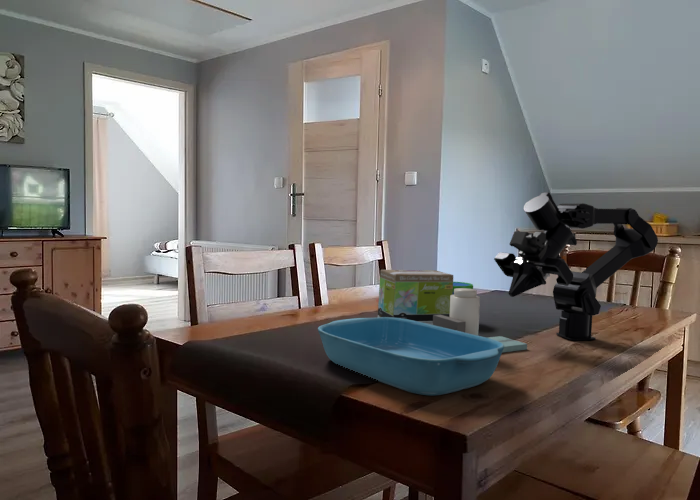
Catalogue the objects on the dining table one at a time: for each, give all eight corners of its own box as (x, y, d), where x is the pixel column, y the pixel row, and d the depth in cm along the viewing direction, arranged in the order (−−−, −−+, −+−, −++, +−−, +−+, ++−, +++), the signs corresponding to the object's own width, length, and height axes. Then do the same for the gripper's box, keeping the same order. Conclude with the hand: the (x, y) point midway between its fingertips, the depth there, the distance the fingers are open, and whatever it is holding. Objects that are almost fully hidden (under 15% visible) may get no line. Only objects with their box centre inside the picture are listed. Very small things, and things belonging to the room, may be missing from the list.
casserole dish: (296, 357, 109) (297, 321, 108) (383, 343, 123) (384, 311, 122) (436, 414, 80) (438, 365, 80) (529, 388, 94) (531, 346, 93)
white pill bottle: (464, 339, 121) (467, 287, 120) (483, 346, 115) (486, 291, 115) (442, 342, 118) (444, 288, 117) (461, 348, 112) (463, 292, 112)
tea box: (392, 338, 127) (394, 273, 126) (376, 329, 136) (378, 268, 135) (451, 335, 132) (454, 273, 131) (432, 327, 141) (434, 268, 140)
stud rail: (500, 341, 127) (501, 309, 126) (526, 349, 120) (528, 316, 119) (431, 349, 118) (433, 315, 117) (456, 358, 111) (457, 322, 110)
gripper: (502, 218, 132) (463, 265, 127) (567, 220, 115) (525, 274, 111) (524, 251, 136) (487, 298, 131) (590, 258, 119) (551, 312, 115)
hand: (510, 295), depth 122 cm, fingers closed
